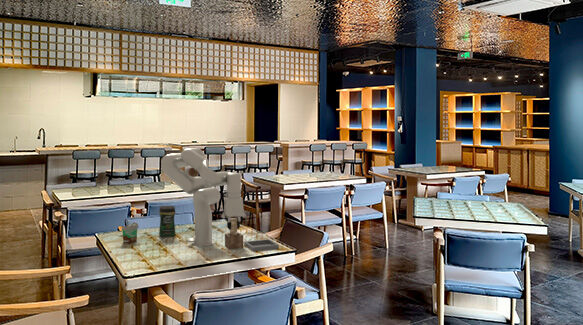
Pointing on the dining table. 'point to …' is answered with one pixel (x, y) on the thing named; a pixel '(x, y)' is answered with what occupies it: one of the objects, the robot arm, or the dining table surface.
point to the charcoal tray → (261, 245)
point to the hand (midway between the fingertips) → (233, 228)
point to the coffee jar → (167, 221)
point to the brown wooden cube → (233, 241)
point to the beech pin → (233, 227)
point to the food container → (130, 233)
